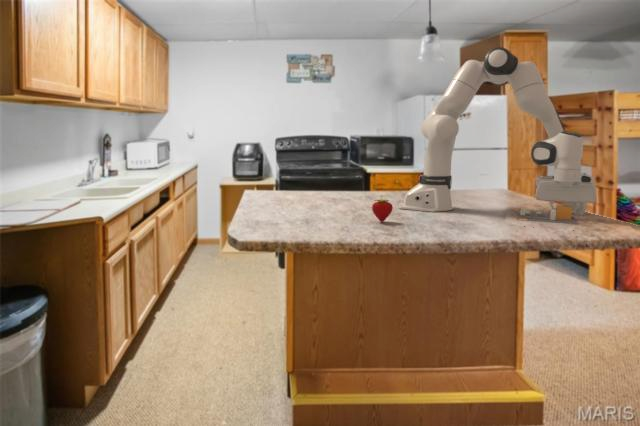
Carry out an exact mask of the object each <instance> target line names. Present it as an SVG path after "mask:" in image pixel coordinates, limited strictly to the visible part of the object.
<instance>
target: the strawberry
mask: <svg viewBox="0 0 640 426" xmlns="http://www.w3.org/2000/svg"><path fill="white" fill-rule="evenodd" d="M382 197H383V195H381V196H380V199H374V201H376V202H373V204H372V206H371V210H372V212H373V214H374V216H375V217H376V218H377V219H378V221H379V222H380V223H384V222H385V220H386V219H387V218H388V217H389V216H390V215H391V213H392V212H393V204H392V203H391V202H389V201H390V200H389V199H383V198H382Z"/></svg>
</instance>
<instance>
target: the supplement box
mask: <svg viewBox="0 0 640 426" xmlns="http://www.w3.org/2000/svg"><path fill="white" fill-rule="evenodd" d="M562 205H571V206H572V209H574V208H575V206H576V205H575V202H562ZM586 207H587V203H580V206H579V207H578V208H577V210H576V214H575V215H579V216H583V215H584V214H586Z"/></svg>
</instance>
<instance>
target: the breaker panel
mask: <svg viewBox="0 0 640 426" xmlns="http://www.w3.org/2000/svg"><path fill="white" fill-rule="evenodd" d="M516 220H517V221H524V222H539V223H540V222H541V223H553V224H554V223H556V224H568V225H569V224H571V225H579V222H578V221H577V219H576V218H575V216H573V215H572V217H571V219H556V217H555V220H550V214H543V212H542V211H536V213H532V211H531V210H530V211H529V210H525V216H524V215H520V212H516Z"/></svg>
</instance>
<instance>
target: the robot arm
mask: <svg viewBox="0 0 640 426" xmlns="http://www.w3.org/2000/svg"><path fill="white" fill-rule="evenodd" d="M508 83H509V84H510V86H511V87H512V91H513V94H514V99H515V102H516V104H517V106H518V107H519V109H520V110H521V111H522V112H524V113H526V114H528V115H531V116H532V117H534V118H536V119H537V120H539V121H540V122H541V123H542V125H543V127H544V130H545V132H546V134H547V137H548V138H547V139H544V140H539V141H538V142H536V143H534V144H533V146H532V147H531V151H530V155H531V157H530V158H531V160H532V162H533V163H534V164H536V165H538V166H544V167H545V166H550V167H551V166H554V167H553V175H540V176H537V178H535V182H534V184H535V187H536V189H535V194H534V197H535V199H536V200H537V201H542V202H543V201H545V202H549V203H548V204H549V206H550V207H551V210H557V209H556V207H554V203H555V202H562V203H563V202H575V205H576V206H575V208H574V209H572V215H577V214H576V210H577V208H578V207H579V206H580V203H586V204H595V203H596V202H597V187H596V185H595V184H594V183H595V176H592V175H590V174H587V173H585V172H584V173H583V172H582V165H581V163H582V159H583V154H584V153H583V152H584V140H583V139H584V138H583V136H582V135H581V134H580V133H578V132H574V131H566V130H565V129H566V128H565V127H564V125H563V123H562V119H561V117H560V115H559V112H558V110H557V109H556V107H555V105H554V104H553V101H552V100H551V98H550V96H549V95H548V94H549V93H548V92H547V90H546V87H545V86H546V85H545V83H544V80H543V77H542V74H541V73H540V71H539V69H538V67H537V65H536V64H535V62H532V61H529V60H528V61H521V62H519V59H518V57H517V56H515V55H514V54H513V53H512V52H511V51H510V50H508V49H507V48H506V47H503V46H496V47H494V48H491V49H490V50H489V51H488V52H487V53H486V55H485V56H484V58H483V61H479V60H476V59H468V60H467V61H465V62H464V63H463V64H462V66H461V67H460V68H459V69H458V70H457V72H456V73H455V74H454V76H453V77H452V80H451V81H450V83H449V85H448V87H447V88H446V89H445V91H444V93H443V94H442V97H441V98H440V99H439V101H438V102H437V103H436V105H435V106H434V107H433V108H432V110H431V111H430V113H429V114H428V116H426V118H425V119H424V121H423V122H422V124H421V132H422V135H423V136H424V137H425V139H426V140H428V141H427V146H426V150H425V151H426V152H425V154H424V158H423V161H424V163H423V174H420V175H419V176H418V183H417V184H416V185H414V186H413V187H412V188H411V189H410V190H408V191H407V192H406V193H405V197H404V200H403V202H401V203H399V204H398V208H399V209H401V210H411V211H421V212H432V213H436V212H448V211H451V210H453V209H454V207H453V203H452V196H451V195H452V194H451V189H452V184H453V179H452V178H453V177H452V160H453V159H452V157H453V151H454V147H455V142H456V138H457V136H458V134H459V131H460V127H459V123H458V121H457V120H458V119H459V118H460V117H461V115H462V114H464V113H465V112H466V111H467V109H468V107H469V106H470V104H471V102H472V101H473V99H474V97H475V95H476V94H477V92H478V90H479V89H480V87H481V86H482V85H483V84H485V85H489V86H495V87H503V86H505V85H506V84H508Z"/></svg>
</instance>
